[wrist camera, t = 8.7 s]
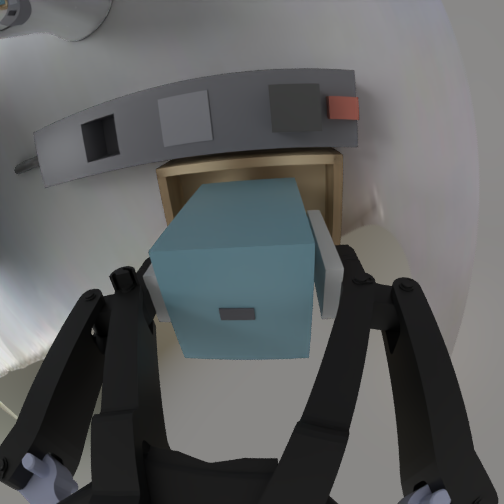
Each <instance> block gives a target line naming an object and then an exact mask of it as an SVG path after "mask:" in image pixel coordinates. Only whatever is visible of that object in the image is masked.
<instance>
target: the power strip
mask: <svg viewBox="0 0 504 504" xmlns="http://www.w3.org/2000/svg"><path fill="white" fill-rule="evenodd" d="M357 120H359V104H358V97H356V86H355V73H354V70H341V69H309V68H302V69H271V70H256V71H245V72H236V73H227V74H220V75H213V76H207V77H201V78H195V79H190V80H185V81H180V82H175V83H171V84H166V85H162V86H158V87H154V88H150V89H146V90H142V91H139V92H135V93H132V94H129V95H125V96H122V97H119V98H116V99H113V100H110V101H107V102H104V103H101V104H98V105H96V106H93V107H90V108H88V109H85V110H83V111H80V112H78V113H75V114H73V115H70V116H68V117H66V118H63V119H61V120H59V121H57V122H54V123H52V124H50V125H48V126H46V127H44V128H42V129H40V130H38V131H36V132H34V140H35V145H36V151H37V156H36V157H34V158H32V159H29V160H27V161H25V162H23V163H21V164H19V165H17V166H16V167H15V169H14V171H15V173H16V174H20V173H22V172H25V171H27V170H29V169H32V168H34V167H37V166H40V170H41V174H42V179H43V183H44V187H45V188H47V187H51V186H54V185H57V184H61V183H64V182H68V181H72V180H75V179H79V178H83V177H87V176H91V175H95V174H99V173H104V172H108V171H112V170H117V169H122V168H127V167H131V166H137V165H142V164H147V163H153V162H159V161H165V160H171V159H177V158H184V157H191V156H199V155H207V154H215V153H224V152H234V151H246V150H259V149H274V148H296V147H358V128H357Z"/></svg>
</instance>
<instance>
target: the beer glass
mask: <svg viewBox="0 0 504 504" xmlns="http://www.w3.org/2000/svg"><path fill="white" fill-rule="evenodd" d="M111 3H112V0H0V39H6V38H11V37H17V36H23V35H29V34H38V33H46V34H51V35H54V36H56V37H59V38H61V39H63V40H65V41H78V40H81V39H83V38H85V37H87V36H88V35H90V34H91V33H92V32H94V31H95V30H96V29H97V28H98V27H99V26H100V25H101V23H102V22H103V21H104V19H105V18H106V16H107V14H108V12H109V10H110V7H111Z"/></svg>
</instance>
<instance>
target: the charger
mask: <svg viewBox="0 0 504 504" xmlns="http://www.w3.org/2000/svg"><path fill="white" fill-rule="evenodd" d="M149 256H150V259H151V263H152V266H153V269H154V272H155V276H156V279H157V282H158V285H159V288H160V291H161V294H162V297H163V300H164V303H165V306H166V309H167V312H168V314H169V317H170V320H171V323H172V325H173V328H174V331H175V333H176V336H177V339H178V341H179V344H180V346H181V349H182V351H183V354H184V356H185V358H201V359H230V360H231V359H233V360H235V359H236V360H238V359H239V360H253V359H254V360H255V359H257V360H258V359H259V360H260V359H261V360H262V359H293V358H309V351H310V339H311V325H312V309H313V308H312V307H313V290H314V265H315V242H314V238H313V235H312V231H311V228H310V225H309V221H308V218H307V215H306V211H305V208H304V205H303V202H302V199H301V195H300V192H299V189H298V186H297V183H296V180H295V178H274V179H257V180H243V181H231V182H220V183H209V184H202V185H201V186H200V187H199V188H198V190H197V191H196V192H195V193H194V194H193V196H192V197H191V198H190V199H189V200H188V202H187V203H186V204H185V205H184V207H183V208H182V209H181V210H180V211H179V213H178V214H177V215H176V217H175V218H174V219H173V220H172V222H171V223H170V224H169V225H168V227H167V228H166V229H165V231H164V232H163V233H162V234H161V236H160V237H159V238H158V240H157V241H156V242H155V244H154V245H153V246H152V248H151V249H150V250H149Z"/></svg>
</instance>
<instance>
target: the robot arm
mask: <svg viewBox="0 0 504 504" xmlns="http://www.w3.org/2000/svg"><path fill="white" fill-rule="evenodd" d="M307 218H308V221H309V225H310V228H311V231H312V235H313V238H314V242H315V265H314V282H315V287H316V292H317V297H318V302H319V306H320V312H321V316H322V319H333V318H335V321H334V325H333V328H332V331H331V334H330V338H329V341H328V344H327V347H326V351H325V354H324V357H323V360H322V363H321V366H320V369H319V372H318V374H317V377H316V380H315V383H314V386H313V389H312V391H311V394H310V397H309V399H308V402H307V404H306V407H305V410H304V412H303V415H302V417H301V419H300V421H299V422H297V424H296V426H295V428H294V430H293V433H292V435H291V437H290V439H289V442H288V444H287V446H286V448H285V451H284V453H283V455H282V457H281V460H280V461H279V464H278V459H277V458H267V459H266V458H265V459H264V458H242V459H235V460H229V461H222V462H215V463H208V462H205V461H202V460H199V459H196V458H194V457H191V456H189V455H186V454H183V453H181V452H179V451H173V450H171V449H170V447H169V444H168V441H167V436H166V429H165V423H164V415H163V408H162V399H161V391H160V381H159V370H158V358H157V343H156V325H155V323H154V320H153V318H154V316H155V314H157V317H158V320H159V322H171V320H170V317H169V314H168V312H167V309H166V306H165V303H164V300H163V297H162V294H161V291H160V288H159V285H158V282H157V279H156V276H155V272H154V269H153V266H152V263H151V259H150V257H149V258H147V259H146V260H145V262H144V263H143V264H142V266H141V267H140V269H139V270H138V272H137V273H136V272H135V269H134V268H133V267H130V266H126V267H121V268H118V269H117V270H115V271H114V272H112V273H111V275H110V276H109V277H110V280H111V282H112V285H113V287H114V290H115V294H112V295H107V296H103V295H102V292H101V291H100V290H99V289H92V290H89V291H86V292H85V293H84V294H82V296H81V297H80V298H79V300H78V301H77V303H76V305H75V306H74V308H73V309H72V311H71V313H70V314H69V316H68V318H67V319H66V321H65V323H64V324H63V326H62V328H61V330H60V331H59V333H58V335H57V337H56V339H55V340H54V342H53V344H52V346H51V348H50V350H49V352H48V353H47V355H46V357H45V359H44V361H43V363H42V365H41V367H40V369H39V372H38V373H37V375H36V377H35V380H34V382H33V384H32V386H31V388H30V390H29V393H28V395H27V397H26V400H25V402H24V404H23V407H22V409H21V412H20V414H19V417H18V419H17V422H16V424H15V425H14V427H13V428H12V430H11V431H10V433H9V434H8V435H7V437H6V438H5V440H4V441H3V443H2V444H1V446H0V481H1V482H3V483H4V484H6V485H8V486H9V487H11V488H13V489H15V490H17V491H19V492H20V493H21V494H22V495H23V496H24V497H25V498H26V500H27V501H28V502H29V503H30V504H338V503H337V502H336V501H334V500H333V499H332V498H331V497H330V496H329V494H330V491H331V489H332V486H333V484H334V481H335V478H336V475H337V473H338V470H339V467H340V464H341V461H342V457H343V454H344V451H345V448H346V445H347V441H348V437H349V428H350V424H351V421H352V416H353V413H354V409H355V405H356V401H357V396H358V392H359V388H360V382H361V378H362V373H363V368H364V363H365V357H366V351H367V346H368V339H369V332H370V328H371V329H378V330H381V332H382V336H383V341H384V346H385V351H386V356H387V362H388V367H389V373H390V379H391V385H392V392H393V399H394V406H395V414H396V424H397V434H398V446H399V461H400V477H401V485H402V490H403V495H404V498H403V499H401V501H399V502H398V504H498V497H497V493H496V491H495V489H494V487H493V484H492V483H491V480H490V478H489V476H488V475H487V473H486V471H485V469H484V467H483V465H482V463H481V461H480V459H479V458H478V456H477V454H476V452H475V450H474V446H473V441H472V436H471V431H470V426H469V421H468V417H467V413H466V409H465V405H464V401H463V398H462V395H461V391H460V388H459V384H458V381H457V378H456V374H455V371H454V368H453V365H452V362H451V359H450V356H449V354H448V351H447V348H446V345H445V343H444V340H443V337H442V335H441V332H440V330H439V327H438V325H437V322H436V320H435V318H434V315H433V313H432V311H431V308H430V306H429V304H428V302H427V299H426V297H425V295H424V293H423V291H422V289H421V287H420V285H419V284H418V283H417V282H416V281H414V280H413V279H410V278H404V277H402V278H398V279H396V280H395V281H394V282H393V285H392V286H388V285H381V284H378V283H376V282H375V279H374V278H373V277H372V276H371V275H370V274H368V273H365V271H364V269H363V267H362V265H361V263H360V261H359V260H358V257H357V256H356V253H355V251H354V249H353V248H351V247H350V246H349V245H334V243H333V240H332V238H331V236H330V233H329V231H328V228H327V226H326V224H325V221H324V219H323V217H322V215H321V212H320V210H307ZM92 328H93V330H94V334H93V335H92V334H91V330H92ZM102 383H103V384H102ZM101 386H102V401H101V412H100V414H95V415H94V416H93V417H92V415H93V411H94V408H95V405H96V401H97V398H98V395H99V392H100V389H101ZM91 418H92V422H91ZM90 422H91V473H92V482H90V483H89V484H87V485H86V486H84V487H83V488H81V489H80V490H78V484H77V483H76V482H75V481H74V480H73V476H74V474H75V472H76V470H77V467H78V465H79V462H80V459H81V455H82V452H83V448H84V444H85V440H86V436H87V433H88V429H89V425H90ZM71 493H73V494H71Z"/></svg>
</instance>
